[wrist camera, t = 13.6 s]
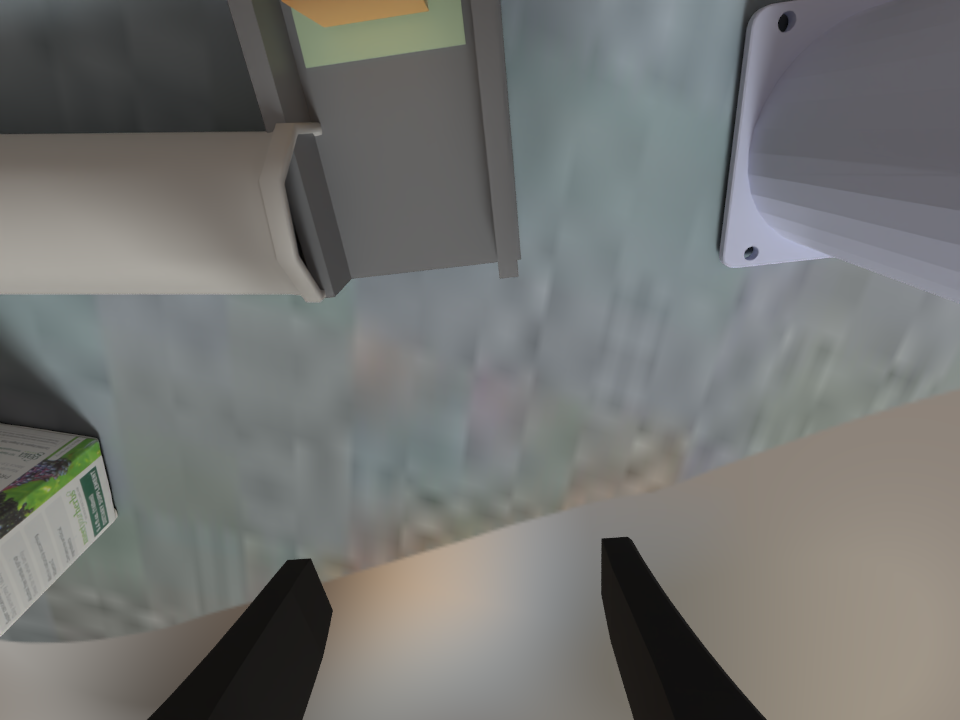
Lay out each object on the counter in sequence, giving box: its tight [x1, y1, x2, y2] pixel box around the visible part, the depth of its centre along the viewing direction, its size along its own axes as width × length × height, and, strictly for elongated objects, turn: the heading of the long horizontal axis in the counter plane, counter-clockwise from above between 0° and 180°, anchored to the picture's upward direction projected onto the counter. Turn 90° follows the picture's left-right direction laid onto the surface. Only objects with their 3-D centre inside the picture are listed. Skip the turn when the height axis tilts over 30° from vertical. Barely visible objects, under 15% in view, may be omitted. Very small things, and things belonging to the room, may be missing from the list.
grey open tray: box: [227, 0, 521, 298], centre depth 13 cm, size 12×7×4 cm, turn 7°
